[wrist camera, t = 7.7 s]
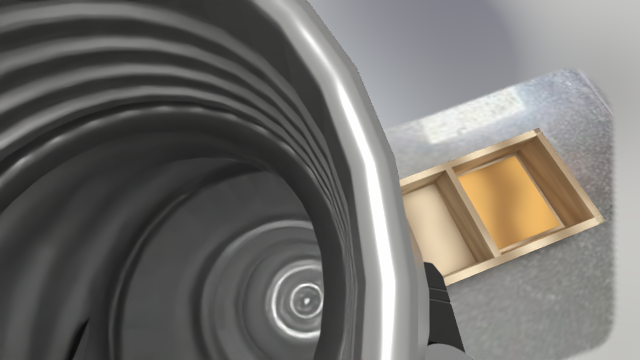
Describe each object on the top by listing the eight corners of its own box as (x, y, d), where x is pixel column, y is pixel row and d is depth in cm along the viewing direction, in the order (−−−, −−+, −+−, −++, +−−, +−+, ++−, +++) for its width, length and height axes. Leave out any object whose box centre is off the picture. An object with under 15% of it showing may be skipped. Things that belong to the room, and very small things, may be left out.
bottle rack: (384, 306, 30) (392, 307, 25) (346, 213, 33) (347, 199, 29) (568, 231, 31) (608, 220, 27) (514, 150, 35) (541, 126, 30)
